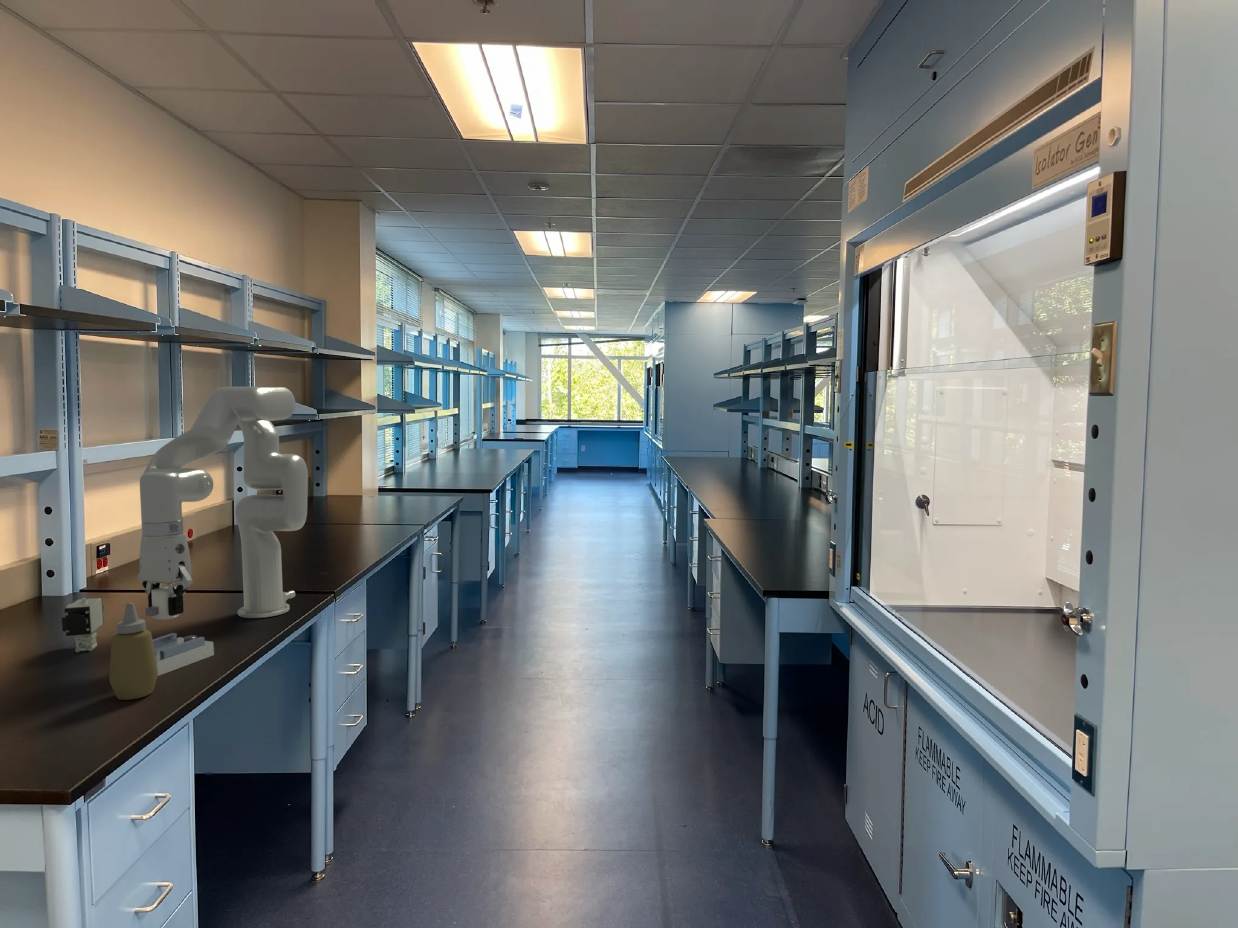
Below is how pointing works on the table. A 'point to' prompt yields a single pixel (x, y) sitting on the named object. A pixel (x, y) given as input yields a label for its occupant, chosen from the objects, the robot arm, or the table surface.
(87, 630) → the pneumatic valve
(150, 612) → the white rounded cylinder
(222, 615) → the table surface
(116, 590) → the table surface
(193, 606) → the table surface
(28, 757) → the table surface
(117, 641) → the squeeze bottle
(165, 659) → the grey fixture tray
